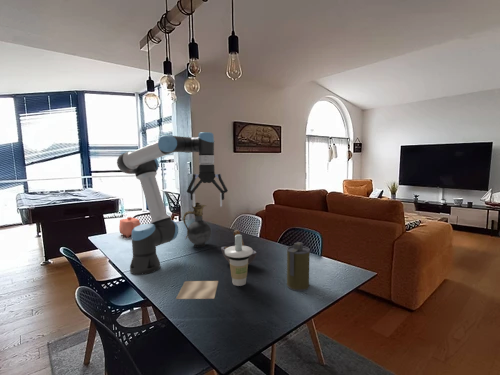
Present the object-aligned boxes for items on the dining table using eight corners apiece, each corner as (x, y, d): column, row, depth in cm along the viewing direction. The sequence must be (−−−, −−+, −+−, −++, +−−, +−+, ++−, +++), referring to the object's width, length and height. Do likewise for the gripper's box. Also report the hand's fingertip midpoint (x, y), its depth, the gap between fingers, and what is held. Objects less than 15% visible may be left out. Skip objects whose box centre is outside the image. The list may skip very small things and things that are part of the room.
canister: (293, 278, 129) (294, 238, 127) (313, 284, 122) (314, 242, 120) (281, 286, 121) (281, 244, 118) (302, 294, 114) (302, 249, 112)
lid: (223, 258, 116) (223, 239, 115) (225, 248, 129) (225, 231, 128) (252, 257, 116) (252, 239, 115) (252, 247, 129) (252, 231, 128)
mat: (175, 299, 110) (175, 298, 110) (184, 282, 126) (184, 281, 126) (214, 299, 110) (214, 298, 110) (218, 281, 126) (218, 280, 126)
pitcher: (213, 245, 180) (212, 201, 177) (188, 251, 168) (186, 205, 164) (205, 241, 188) (204, 199, 185) (180, 247, 176) (178, 202, 172)
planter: (220, 262, 150) (219, 227, 148) (248, 258, 156) (247, 224, 154) (227, 272, 136) (227, 234, 134) (257, 267, 142) (257, 231, 140)
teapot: (116, 233, 209) (115, 216, 208) (132, 230, 218) (131, 213, 217) (127, 239, 194) (126, 220, 193) (144, 235, 203) (143, 217, 202)
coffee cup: (247, 289, 119) (246, 257, 117) (226, 287, 120) (225, 255, 119) (251, 279, 128) (251, 249, 126) (231, 277, 130) (231, 248, 128)
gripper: (179, 164, 127) (181, 207, 129) (231, 164, 127) (231, 207, 130) (183, 164, 135) (184, 205, 137) (232, 163, 135) (232, 204, 137)
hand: (207, 206), depth 133 cm, fingers open, 13 cm apart
